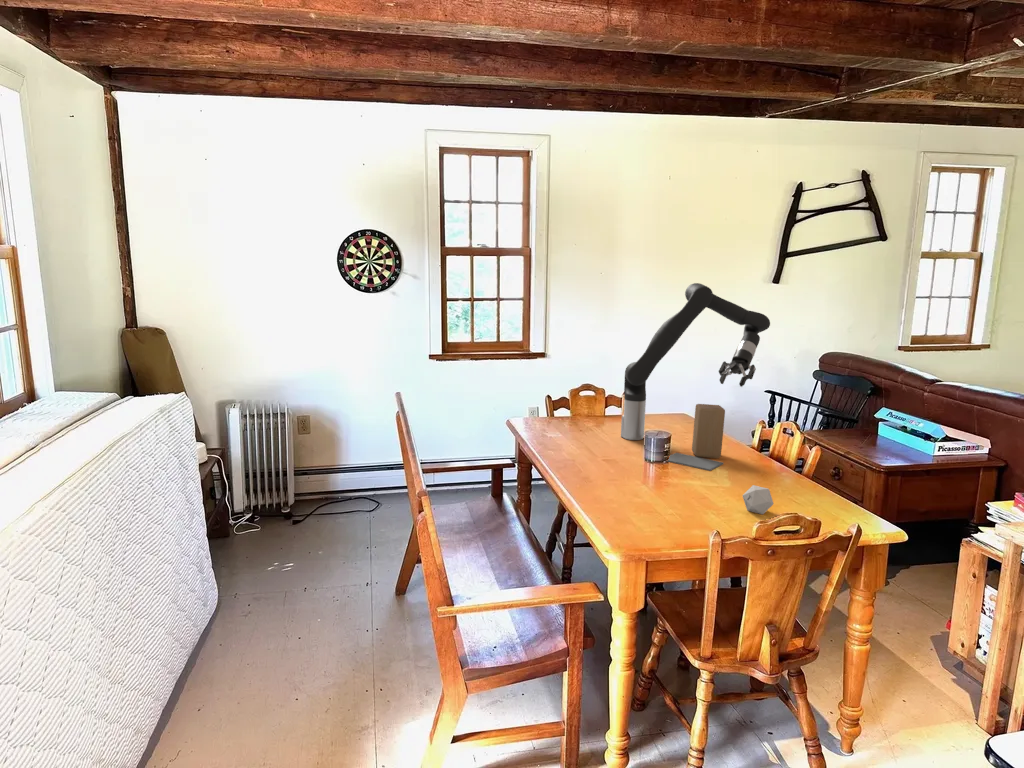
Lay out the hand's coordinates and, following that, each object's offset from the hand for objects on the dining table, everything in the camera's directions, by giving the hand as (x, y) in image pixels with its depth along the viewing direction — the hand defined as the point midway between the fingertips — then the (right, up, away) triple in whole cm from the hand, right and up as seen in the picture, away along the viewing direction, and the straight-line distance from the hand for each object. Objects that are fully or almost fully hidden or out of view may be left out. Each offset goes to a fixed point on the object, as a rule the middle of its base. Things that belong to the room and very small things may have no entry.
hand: (730, 384), depth 282 cm
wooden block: (-13, -29, -9) cm, 33 cm away
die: (-14, -40, -69) cm, 81 cm away
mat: (-21, -30, -18) cm, 41 cm away
